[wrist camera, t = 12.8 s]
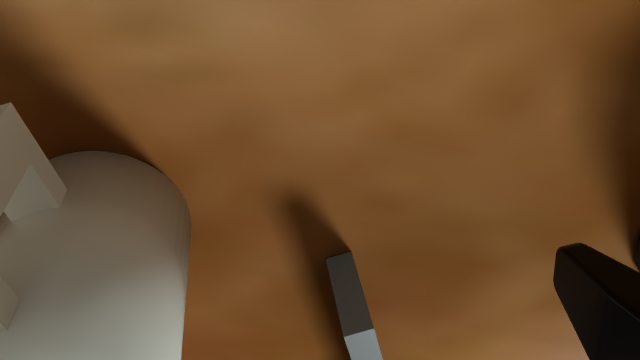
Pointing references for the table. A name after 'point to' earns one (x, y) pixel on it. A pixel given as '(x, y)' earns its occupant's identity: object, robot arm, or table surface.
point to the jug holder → (352, 309)
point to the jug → (88, 254)
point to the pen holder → (638, 255)
